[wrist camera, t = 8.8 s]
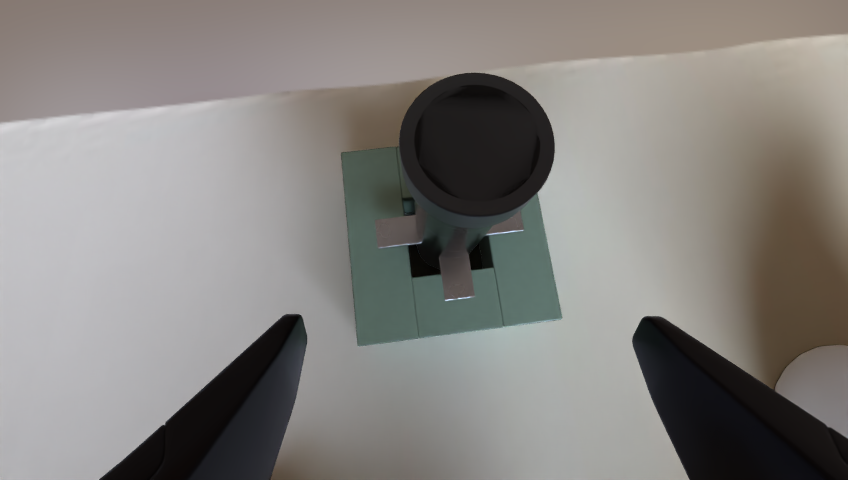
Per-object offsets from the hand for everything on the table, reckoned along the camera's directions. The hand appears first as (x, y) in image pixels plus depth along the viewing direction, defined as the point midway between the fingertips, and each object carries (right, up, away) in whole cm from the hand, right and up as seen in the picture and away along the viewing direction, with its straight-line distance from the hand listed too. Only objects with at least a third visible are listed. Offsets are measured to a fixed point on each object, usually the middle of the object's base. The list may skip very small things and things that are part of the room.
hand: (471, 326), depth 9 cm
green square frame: (0, +2, +12) cm, 12 cm away
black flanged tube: (0, +2, +12) cm, 12 cm away
